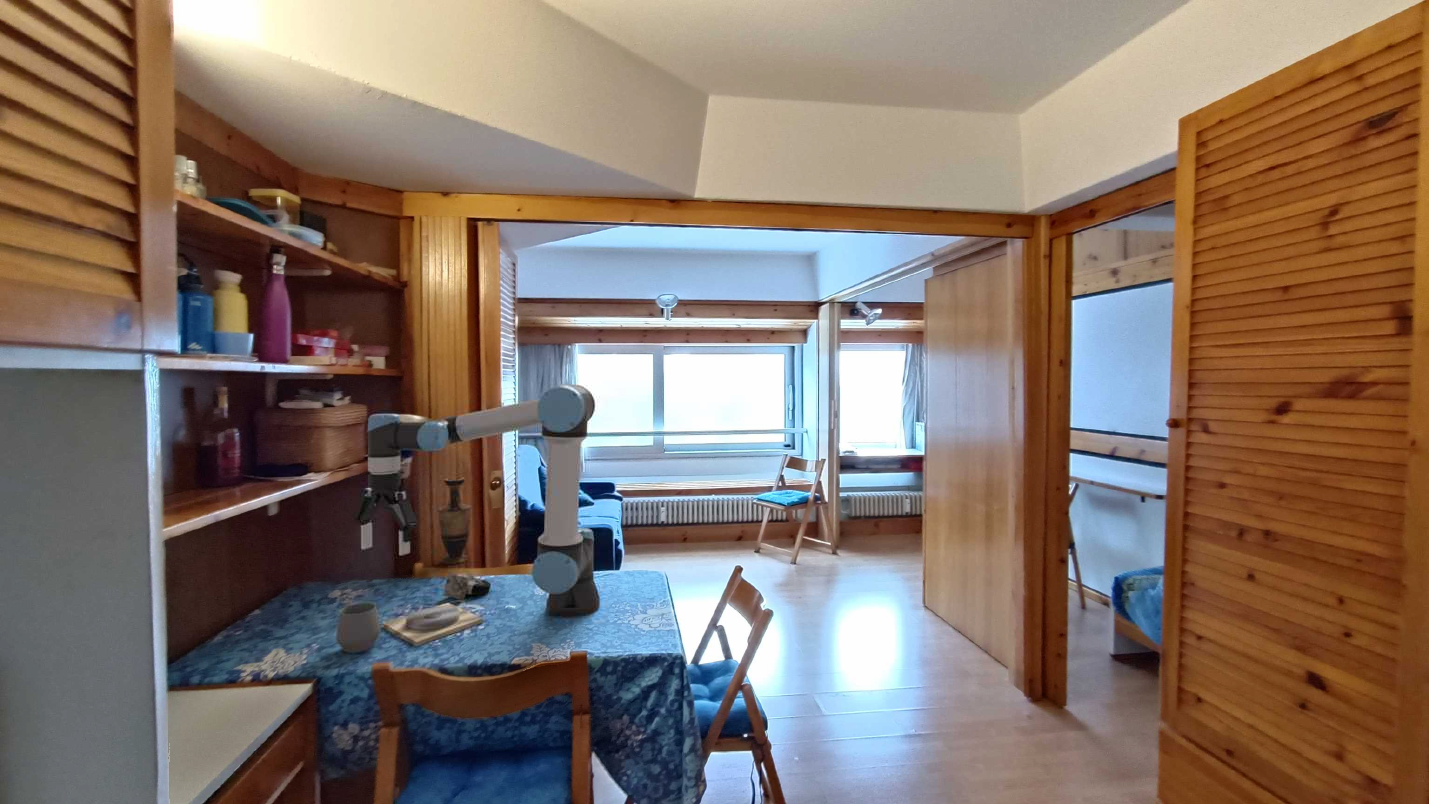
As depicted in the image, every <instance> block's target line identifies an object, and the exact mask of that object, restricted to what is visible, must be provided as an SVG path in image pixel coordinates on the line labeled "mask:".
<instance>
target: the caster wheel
mask: <svg viewBox="0 0 1429 804" xmlns="http://www.w3.org/2000/svg"><path fill="white" fill-rule="evenodd" d="M491 585H492V584H491V583H490V582H489V581H487V580H485V579H480V578H475V577H474V575H473V574H471V573H468V572H461V573H458V574H454V573H450V572H449V573H448V574H447V578H446V582H445V586H444V589H443V593H442V596H444V597H448V598H452V599H456V600H459V601H465V597H466V595H478V596H479V595H480V596H481V595H487V594H489V592H490V589H491Z"/></svg>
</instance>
